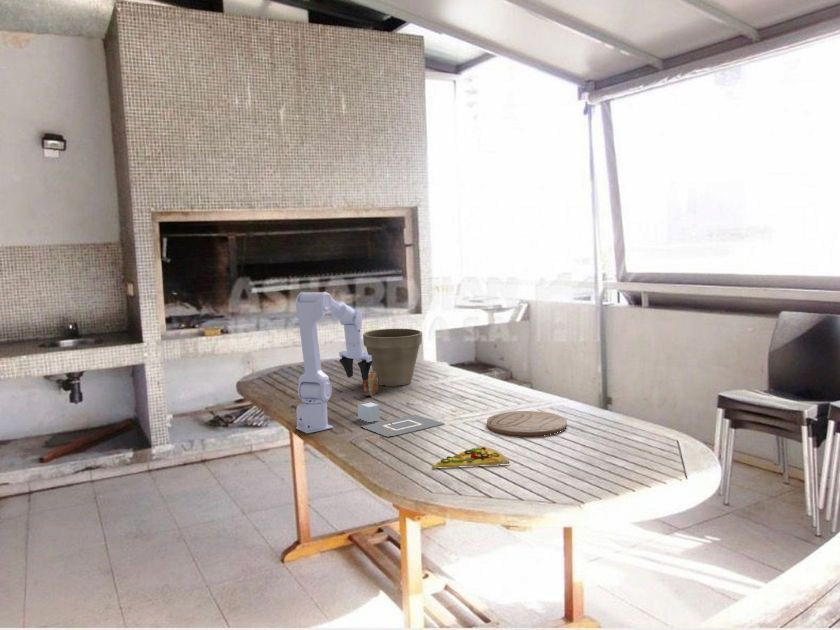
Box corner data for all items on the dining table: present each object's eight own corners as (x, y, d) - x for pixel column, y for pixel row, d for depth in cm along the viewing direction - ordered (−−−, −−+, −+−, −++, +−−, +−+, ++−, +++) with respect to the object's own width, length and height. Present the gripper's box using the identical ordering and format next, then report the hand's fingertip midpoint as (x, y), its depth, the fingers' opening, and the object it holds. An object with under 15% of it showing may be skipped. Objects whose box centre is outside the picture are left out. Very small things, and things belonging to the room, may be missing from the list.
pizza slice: (515, 466, 176) (514, 455, 176) (445, 480, 168) (444, 469, 167) (485, 450, 190) (484, 440, 190) (419, 463, 182) (418, 452, 181)
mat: (388, 437, 204) (388, 436, 204) (360, 427, 216) (360, 426, 216) (444, 424, 217) (444, 423, 217) (415, 415, 229) (415, 414, 229)
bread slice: (369, 398, 257) (368, 376, 256) (361, 398, 258) (360, 376, 257) (379, 389, 272) (379, 369, 271) (372, 389, 272) (371, 369, 271)
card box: (369, 423, 221) (368, 406, 221) (358, 419, 227) (357, 402, 226) (379, 421, 224) (378, 404, 223) (368, 417, 229) (367, 400, 229)
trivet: (577, 421, 216) (577, 415, 216) (551, 442, 195) (551, 435, 195) (505, 413, 229) (505, 408, 229) (473, 432, 208) (473, 426, 208)
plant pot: (421, 388, 270) (419, 335, 268) (360, 390, 272) (358, 337, 269) (425, 376, 295) (423, 327, 293) (369, 377, 297) (367, 329, 294)
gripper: (376, 341, 238) (379, 377, 241) (347, 337, 247) (351, 372, 250) (362, 346, 233) (366, 383, 236) (333, 342, 242) (337, 377, 245)
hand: (357, 378), depth 242 cm, fingers open, 7 cm apart
